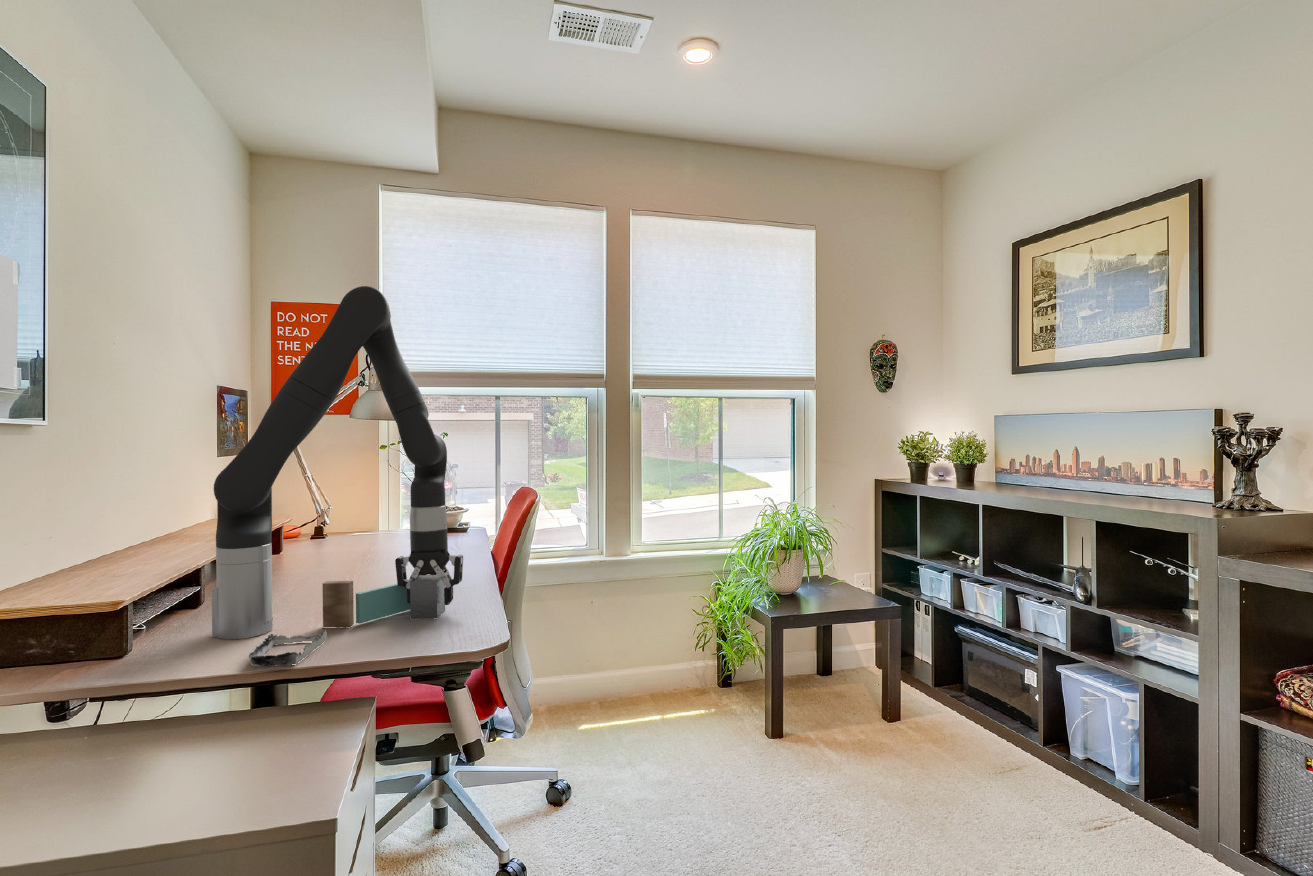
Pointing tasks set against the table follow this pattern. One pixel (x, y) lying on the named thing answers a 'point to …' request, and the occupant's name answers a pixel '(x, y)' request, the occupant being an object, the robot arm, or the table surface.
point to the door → (381, 602)
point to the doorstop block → (426, 597)
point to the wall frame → (338, 604)
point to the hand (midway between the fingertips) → (430, 604)
